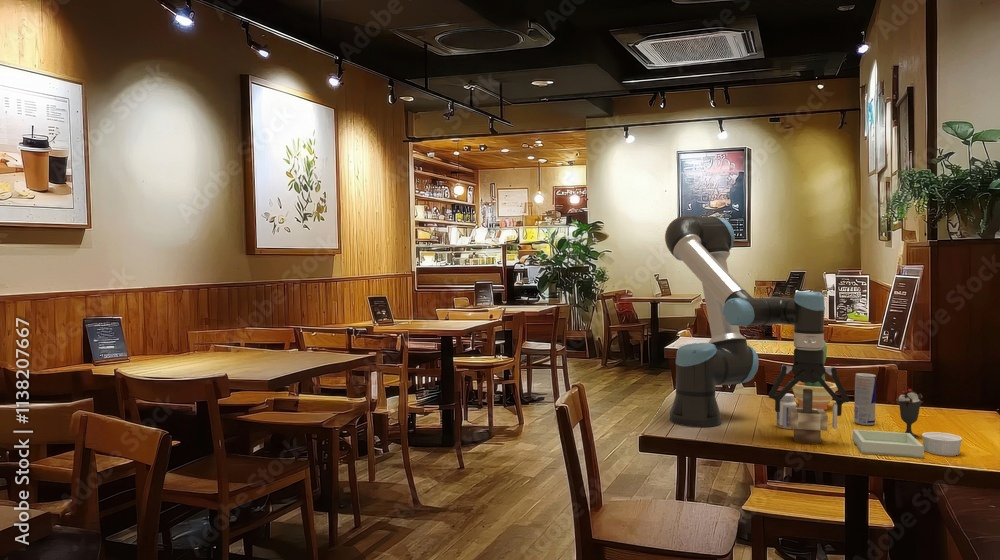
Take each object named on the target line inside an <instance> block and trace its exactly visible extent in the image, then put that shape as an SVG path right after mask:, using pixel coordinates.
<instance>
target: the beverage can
mask: <svg viewBox="0 0 1000 560" xmlns="http://www.w3.org/2000/svg"><path fill="white" fill-rule="evenodd" d="M876 390H877V376H876V374H873V373H863V372H862V373H860V372H859V373H858V372H857V373H855V379H854V410H853V411H854V414H853V415H854V419H853V422H854V423H856V424H857V425H860V426H874V425H875V424H876V402H877V401H876V392H877V391H876Z"/></svg>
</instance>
